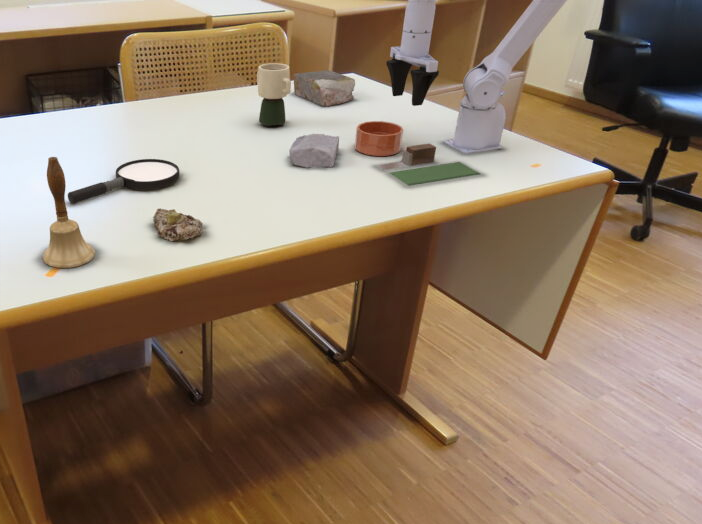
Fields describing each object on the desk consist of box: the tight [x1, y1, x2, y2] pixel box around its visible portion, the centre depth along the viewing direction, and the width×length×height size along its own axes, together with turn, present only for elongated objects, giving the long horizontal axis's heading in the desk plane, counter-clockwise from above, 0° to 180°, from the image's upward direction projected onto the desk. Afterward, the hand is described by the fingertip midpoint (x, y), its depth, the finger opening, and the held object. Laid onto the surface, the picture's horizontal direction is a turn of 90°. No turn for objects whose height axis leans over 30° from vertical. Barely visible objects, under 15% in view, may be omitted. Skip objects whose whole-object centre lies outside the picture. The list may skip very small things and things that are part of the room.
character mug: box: [256, 62, 292, 127], centre depth 159 cm, size 11×7×13 cm, turn 39°
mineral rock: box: [152, 208, 204, 242], centre depth 116 cm, size 11×4×8 cm
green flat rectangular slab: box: [389, 161, 481, 187], centre depth 136 cm, size 17×7×1 cm, turn 110°
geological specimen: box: [293, 70, 356, 107], centre depth 180 cm, size 11×6×15 cm
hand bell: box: [42, 156, 96, 269], centre depth 105 cm, size 8×8×16 cm
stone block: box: [288, 133, 340, 169], centre depth 144 cm, size 12×5×10 cm
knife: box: [376, 143, 437, 171], centre depth 140 cm, size 12×3×3 cm, turn 110°
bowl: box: [354, 120, 404, 157], centre depth 146 cm, size 10×10×5 cm
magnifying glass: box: [67, 158, 180, 205], centre depth 132 cm, size 12×24×2 cm, turn 132°
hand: (407, 100), depth 146 cm, fingers open, 7 cm apart
